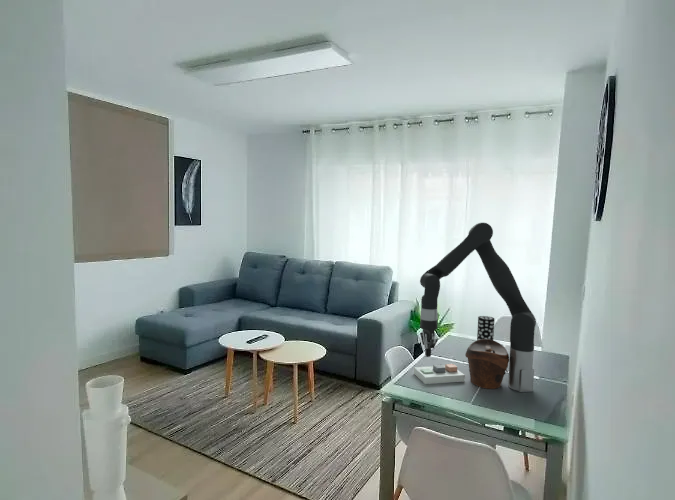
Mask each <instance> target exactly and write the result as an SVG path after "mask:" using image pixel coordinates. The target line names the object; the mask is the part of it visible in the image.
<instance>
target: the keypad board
mask: <svg viewBox="0 0 675 500" xmlns="http://www.w3.org/2000/svg"><path fill="white" fill-rule="evenodd" d="M443 366H444V367H445V365H443ZM421 369H430V370H431V371H432V372H433V374H423V373H422V372H421ZM413 374H414V375H415V376H416V377H417V378H418V379H419V380H420V381H421V382H422V383H423V384H424V385H433V384H446V383H460V382H461V383H462V382H463V383H464V382H465V381H466V380H465V379H466V377H465V376H466V374H465V373H463V372H462V371H460V370H459V369H457V371H454V372H449V371H447V370H446V369H445V372H436V371H434V370H433V365H432V366H416V367H415V366H414V367H413Z"/></svg>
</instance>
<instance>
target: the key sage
mask: <svg viewBox="0 0 675 500" xmlns="http://www.w3.org/2000/svg"><path fill="white" fill-rule="evenodd" d="M421 372H422V373H423V374H433V372H432V371H431V370H430V369H421Z"/></svg>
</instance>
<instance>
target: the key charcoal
mask: <svg viewBox="0 0 675 500" xmlns="http://www.w3.org/2000/svg"><path fill="white" fill-rule="evenodd" d="M432 366H433V370H434V371H436V372H445V367H444V366H445V365H442V364H433V365H432Z"/></svg>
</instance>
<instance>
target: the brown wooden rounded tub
mask: <svg viewBox="0 0 675 500" xmlns="http://www.w3.org/2000/svg"><path fill="white" fill-rule="evenodd" d="M465 358H467V362H468V363H467V364H468V368H469V369H468V370H469V379H470V382H471V383H472V384H474V385H475V386H477V387H480V388H483V389H487V390H489V389H491V390H493V389H498V388H500V387H502V383H503V379H504V377H505V375H506V373H508V374H509V370H507V369H509V359H510V353H508V351H507V349H506V347H505V346H504V345H502V344H501V343H500V342H498V341H497V340H496V341H495V340H494V339H493V340H490V339H480V340H477V339H476V340H475V341H473V342H472V343H471V344H470V345H469V346H468V348H467V349H466V351H465Z"/></svg>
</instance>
